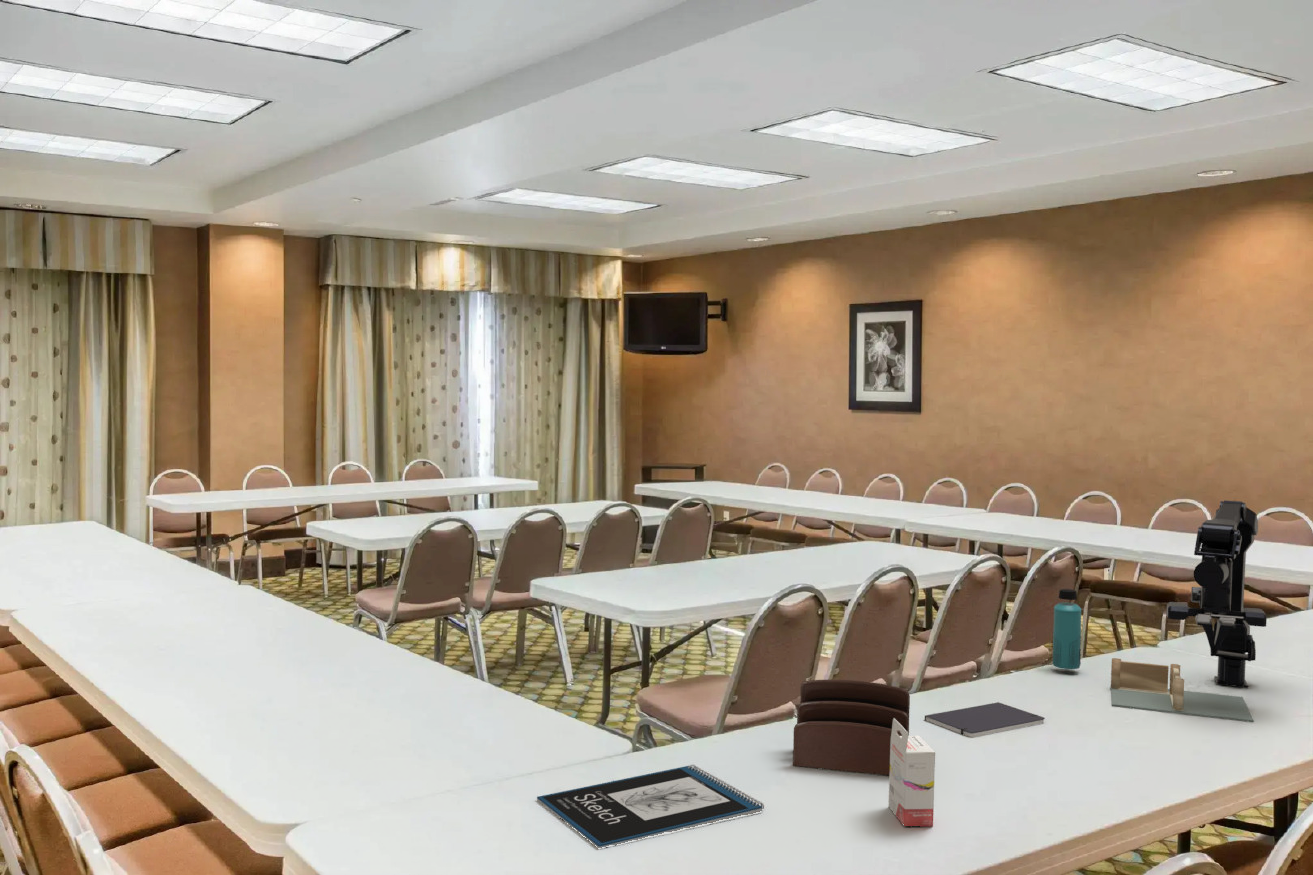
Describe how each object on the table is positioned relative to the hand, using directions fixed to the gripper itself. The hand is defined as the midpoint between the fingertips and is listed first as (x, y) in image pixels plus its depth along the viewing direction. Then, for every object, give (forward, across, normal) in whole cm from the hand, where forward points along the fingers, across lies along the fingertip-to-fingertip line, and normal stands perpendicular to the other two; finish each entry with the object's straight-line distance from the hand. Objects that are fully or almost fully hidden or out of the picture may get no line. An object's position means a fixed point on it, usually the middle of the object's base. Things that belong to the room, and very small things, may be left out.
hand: (1213, 653), depth 237 cm
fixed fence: (+12, +13, -7) cm, 19 cm away
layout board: (+12, +6, -2) cm, 14 cm away
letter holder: (+11, +64, +67) cm, 93 cm away
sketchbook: (+11, +89, +101) cm, 135 cm away
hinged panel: (+11, +7, +1) cm, 13 cm away
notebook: (+12, +44, +31) cm, 55 cm away
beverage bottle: (+12, +30, -19) cm, 37 cm away
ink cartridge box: (+11, +50, +88) cm, 102 cm away
